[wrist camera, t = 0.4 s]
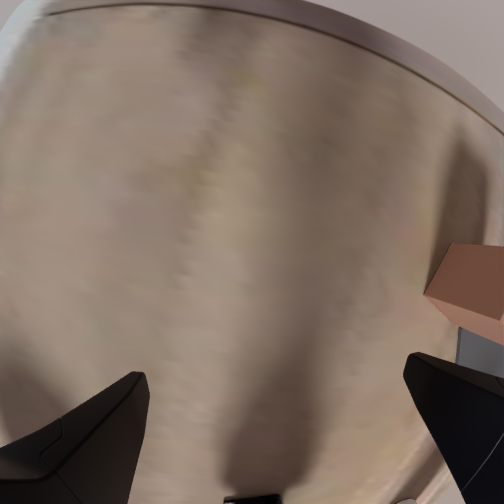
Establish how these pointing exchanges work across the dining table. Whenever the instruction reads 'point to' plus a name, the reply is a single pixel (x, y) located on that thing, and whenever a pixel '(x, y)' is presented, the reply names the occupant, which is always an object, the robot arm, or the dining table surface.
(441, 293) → the pink upright block
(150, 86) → the dining table surface
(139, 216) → the dining table surface
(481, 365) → the charcoal mat
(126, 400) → the robot arm
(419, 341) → the dining table surface
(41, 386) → the dining table surface
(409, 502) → the water bottle
